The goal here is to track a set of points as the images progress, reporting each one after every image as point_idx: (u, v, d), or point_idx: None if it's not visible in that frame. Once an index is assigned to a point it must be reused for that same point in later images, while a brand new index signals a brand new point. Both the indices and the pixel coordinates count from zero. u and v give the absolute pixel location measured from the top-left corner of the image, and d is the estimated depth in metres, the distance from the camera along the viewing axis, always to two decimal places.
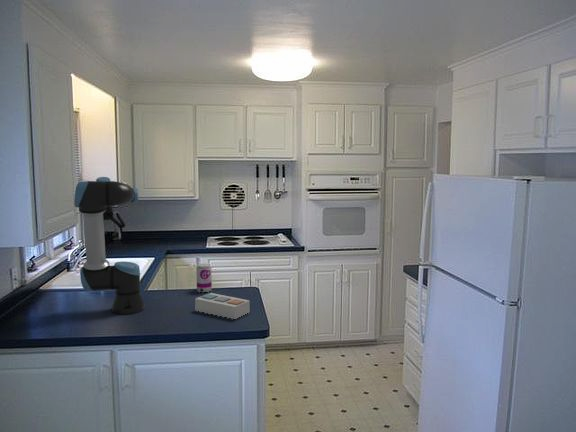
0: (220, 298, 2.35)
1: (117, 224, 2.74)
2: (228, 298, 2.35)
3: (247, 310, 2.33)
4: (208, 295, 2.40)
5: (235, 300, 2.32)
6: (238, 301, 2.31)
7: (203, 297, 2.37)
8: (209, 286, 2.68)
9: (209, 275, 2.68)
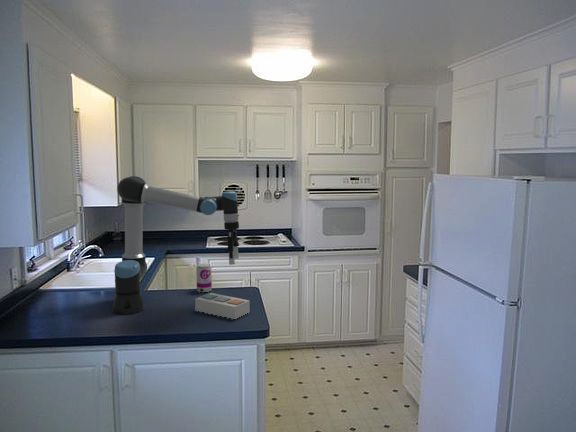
0: (220, 298, 2.35)
1: None
2: (228, 298, 2.35)
3: (247, 310, 2.33)
4: (208, 295, 2.40)
5: (235, 300, 2.32)
6: (238, 301, 2.31)
7: (203, 297, 2.37)
8: (209, 286, 2.68)
9: (209, 275, 2.68)
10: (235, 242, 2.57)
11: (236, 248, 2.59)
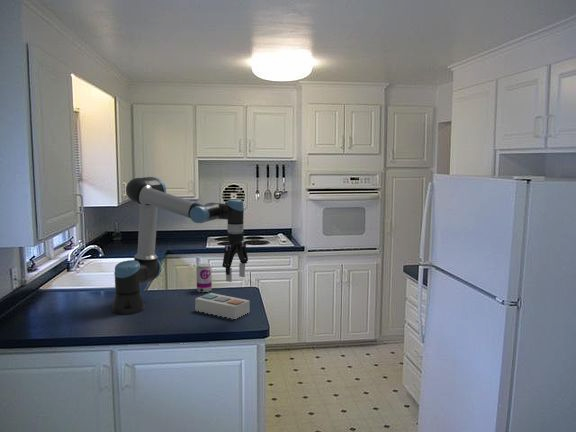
0: (220, 298, 2.35)
1: None
2: (228, 298, 2.35)
3: (247, 310, 2.33)
4: (208, 295, 2.40)
5: (235, 300, 2.32)
6: (238, 301, 2.31)
7: (203, 297, 2.37)
8: (209, 286, 2.68)
9: (209, 275, 2.68)
10: (241, 258, 2.32)
11: (242, 265, 2.33)
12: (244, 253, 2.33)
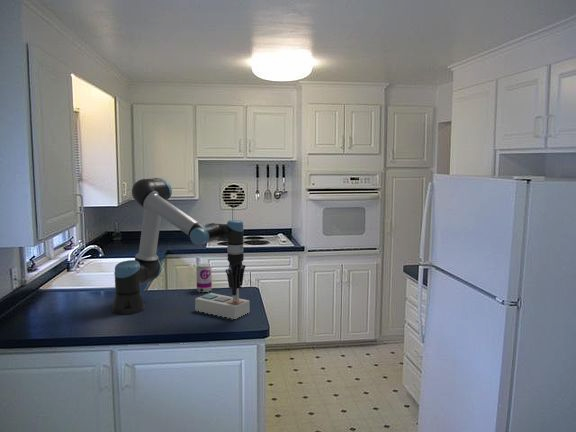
0: (220, 298, 2.35)
1: None
2: (228, 298, 2.35)
3: (247, 310, 2.33)
4: (208, 295, 2.40)
5: None
6: None
7: (203, 297, 2.37)
8: (209, 286, 2.68)
9: (209, 275, 2.68)
10: (237, 280, 2.30)
11: None
12: (240, 276, 2.32)
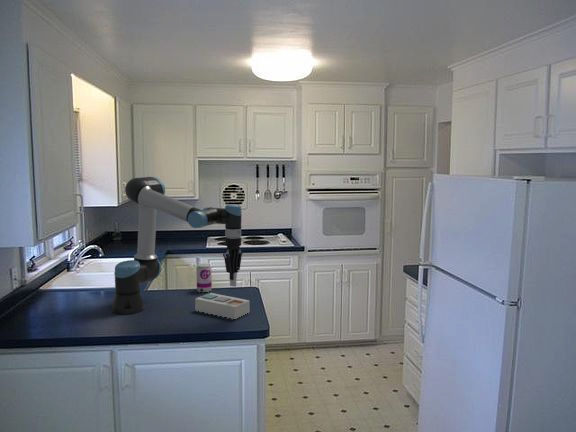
0: (220, 298, 2.35)
1: None
2: (228, 298, 2.35)
3: (247, 310, 2.33)
4: (208, 295, 2.40)
5: (235, 303, 2.33)
6: (238, 304, 2.31)
7: (203, 297, 2.37)
8: (209, 286, 2.68)
9: (209, 275, 2.68)
10: (234, 265, 2.30)
11: None
12: (238, 261, 2.32)
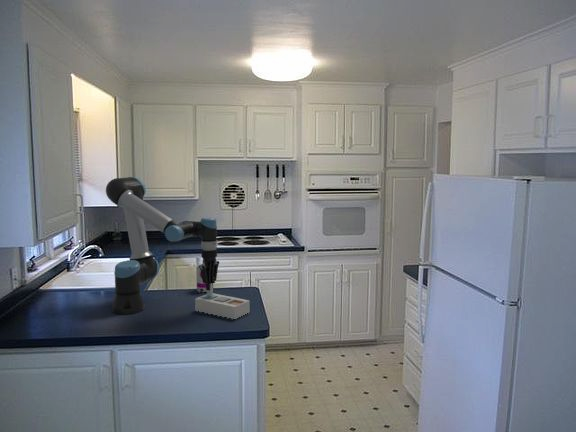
0: (220, 298, 2.35)
1: None
2: (228, 298, 2.35)
3: (247, 310, 2.33)
4: None
5: (235, 303, 2.33)
6: (238, 304, 2.31)
7: (203, 297, 2.37)
8: None
9: None
10: (211, 276, 2.38)
11: None
12: (214, 271, 2.40)
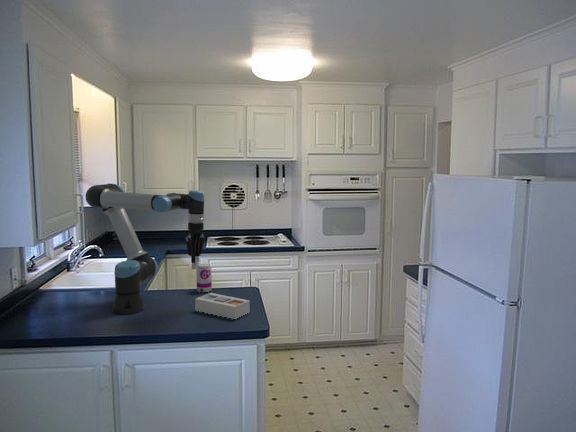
0: (220, 298, 2.35)
1: None
2: (228, 298, 2.35)
3: (247, 310, 2.33)
4: (208, 298, 2.40)
5: (235, 303, 2.33)
6: (238, 304, 2.31)
7: None
8: (209, 286, 2.68)
9: (209, 275, 2.68)
10: (196, 248, 2.40)
11: None
12: (200, 245, 2.42)
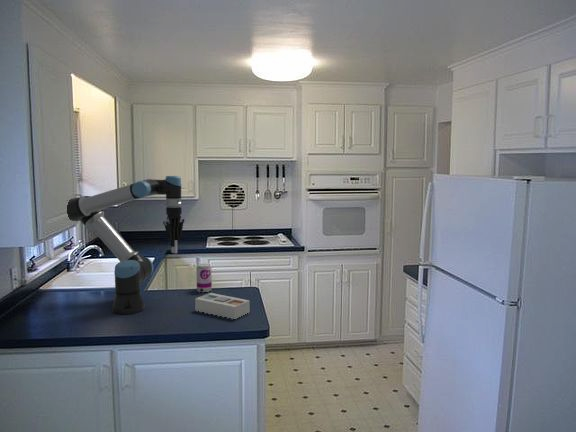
0: (220, 298, 2.35)
1: None
2: (228, 298, 2.35)
3: (247, 310, 2.33)
4: (208, 298, 2.40)
5: (235, 303, 2.33)
6: (238, 304, 2.31)
7: None
8: (209, 286, 2.68)
9: (209, 275, 2.68)
10: (175, 233, 2.44)
11: None
12: (179, 229, 2.46)
